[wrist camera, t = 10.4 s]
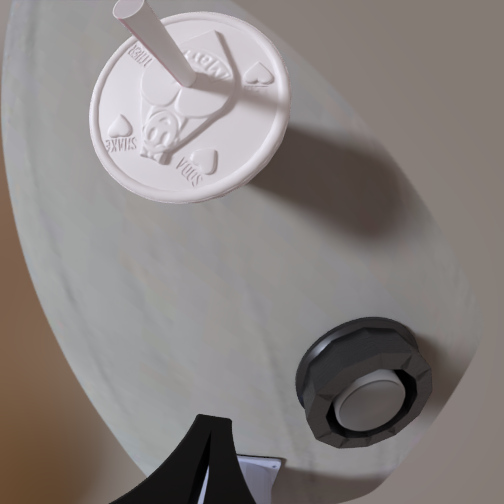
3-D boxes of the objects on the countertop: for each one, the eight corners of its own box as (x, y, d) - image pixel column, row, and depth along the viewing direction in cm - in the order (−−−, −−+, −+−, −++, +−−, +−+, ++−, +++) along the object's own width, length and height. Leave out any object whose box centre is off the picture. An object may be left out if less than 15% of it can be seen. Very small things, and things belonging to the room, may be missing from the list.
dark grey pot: (390, 416, 22) (404, 446, 18) (283, 416, 22) (286, 452, 18) (432, 320, 19) (458, 345, 15) (311, 311, 19) (322, 341, 15)
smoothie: (294, 114, 16) (373, -38, 3) (249, 209, 18) (211, 305, 4) (198, 77, 16) (87, -74, 2) (155, 169, 17) (-41, 167, 4)
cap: (378, 401, 20) (391, 429, 17) (321, 402, 20) (328, 434, 17) (398, 351, 19) (417, 378, 16) (337, 350, 19) (348, 380, 16)
